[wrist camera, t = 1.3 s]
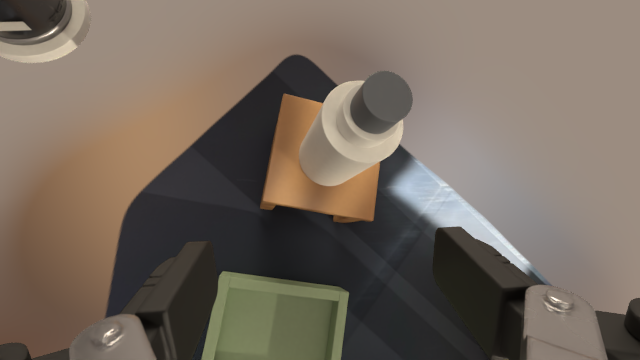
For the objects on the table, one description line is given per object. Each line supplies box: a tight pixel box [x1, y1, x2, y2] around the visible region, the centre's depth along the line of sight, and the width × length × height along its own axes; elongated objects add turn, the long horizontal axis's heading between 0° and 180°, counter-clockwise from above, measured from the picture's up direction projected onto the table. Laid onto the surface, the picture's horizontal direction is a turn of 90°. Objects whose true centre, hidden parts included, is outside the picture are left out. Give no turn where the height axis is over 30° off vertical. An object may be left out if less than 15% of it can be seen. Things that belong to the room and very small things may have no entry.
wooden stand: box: [260, 94, 380, 223], centre depth 32 cm, size 10×10×9 cm
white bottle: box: [299, 71, 413, 186], centre depth 22 cm, size 5×5×12 cm
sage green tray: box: [201, 271, 349, 360], centre depth 31 cm, size 13×12×4 cm
